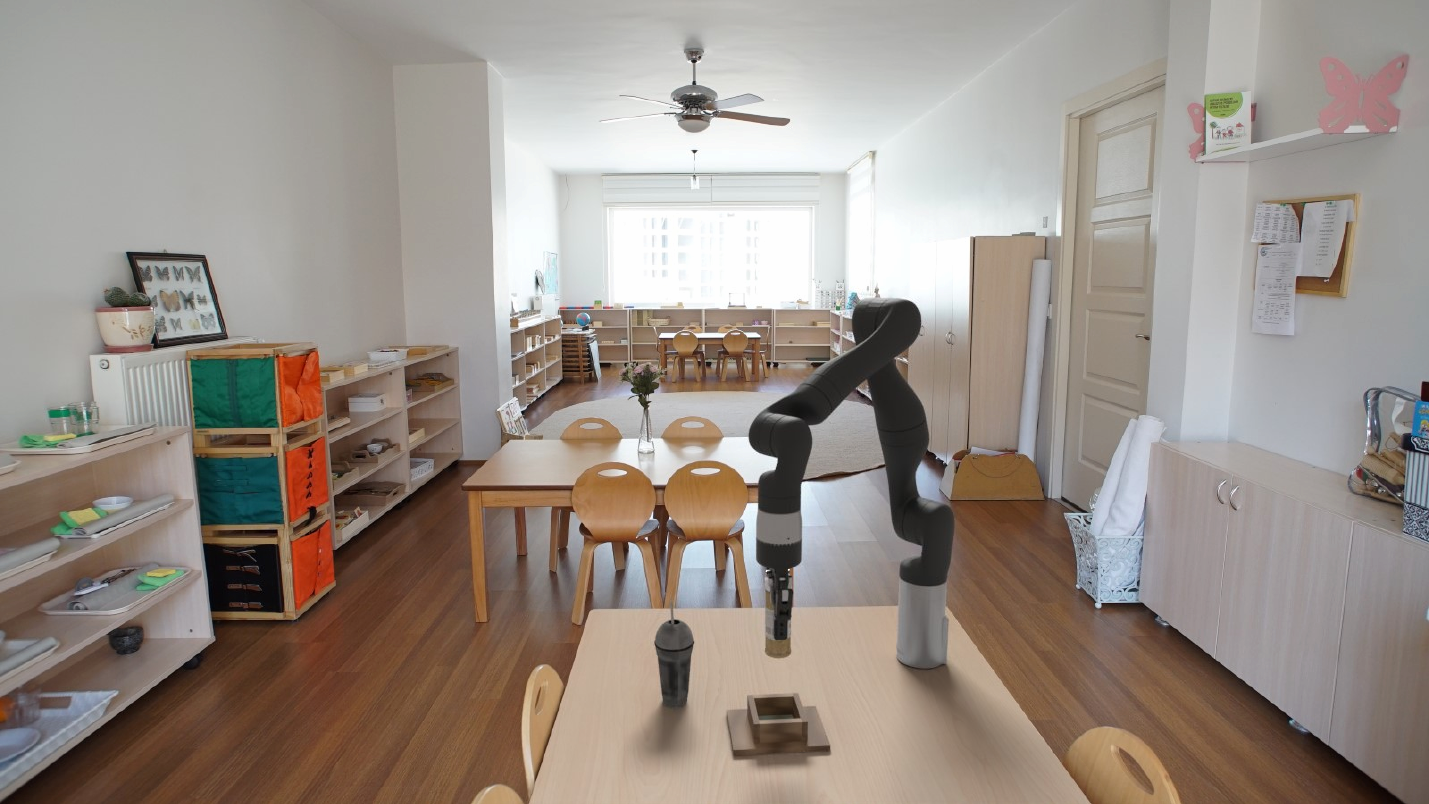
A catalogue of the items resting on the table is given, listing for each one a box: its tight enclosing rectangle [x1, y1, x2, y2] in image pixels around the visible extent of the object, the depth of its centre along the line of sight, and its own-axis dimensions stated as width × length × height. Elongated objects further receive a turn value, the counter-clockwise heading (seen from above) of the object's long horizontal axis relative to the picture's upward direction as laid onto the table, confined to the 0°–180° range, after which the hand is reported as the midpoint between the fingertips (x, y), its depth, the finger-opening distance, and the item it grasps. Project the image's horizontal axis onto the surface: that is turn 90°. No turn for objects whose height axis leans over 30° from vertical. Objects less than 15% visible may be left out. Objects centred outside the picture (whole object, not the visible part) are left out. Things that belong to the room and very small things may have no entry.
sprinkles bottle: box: [764, 576, 793, 660], centre depth 134 cm, size 5×5×13 cm
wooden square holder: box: [726, 692, 831, 757], centre depth 137 cm, size 16×12×4 cm
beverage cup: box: [653, 599, 695, 708], centre depth 146 cm, size 7×7×20 cm
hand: (778, 631), depth 134 cm, fingers closed on sprinkles bottle, 4 cm apart
